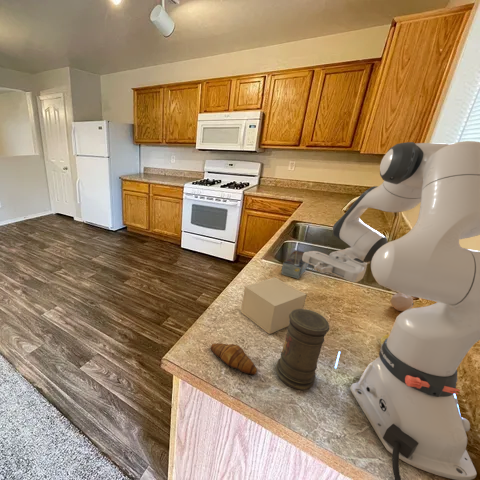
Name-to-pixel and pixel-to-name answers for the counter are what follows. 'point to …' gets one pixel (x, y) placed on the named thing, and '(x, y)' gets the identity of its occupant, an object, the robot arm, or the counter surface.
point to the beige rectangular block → (271, 303)
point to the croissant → (234, 357)
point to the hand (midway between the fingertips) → (317, 269)
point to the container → (302, 348)
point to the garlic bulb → (402, 302)
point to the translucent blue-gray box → (294, 265)
